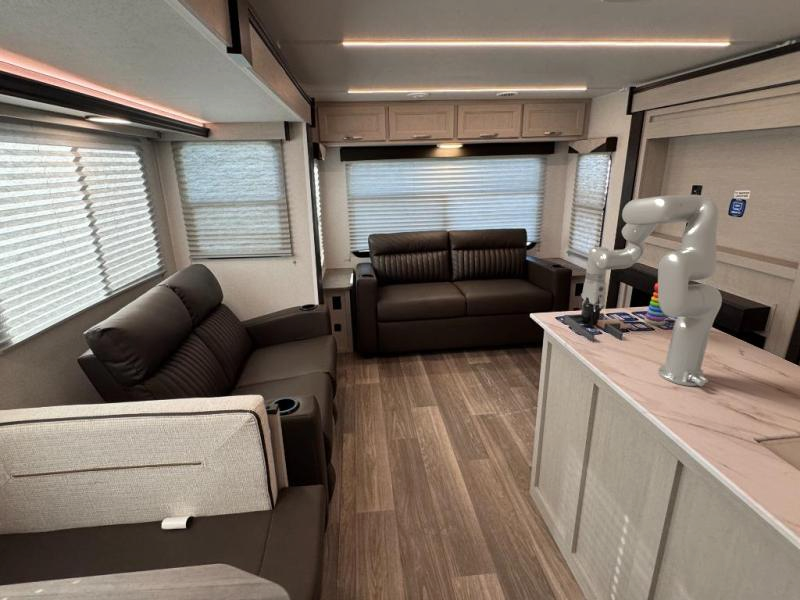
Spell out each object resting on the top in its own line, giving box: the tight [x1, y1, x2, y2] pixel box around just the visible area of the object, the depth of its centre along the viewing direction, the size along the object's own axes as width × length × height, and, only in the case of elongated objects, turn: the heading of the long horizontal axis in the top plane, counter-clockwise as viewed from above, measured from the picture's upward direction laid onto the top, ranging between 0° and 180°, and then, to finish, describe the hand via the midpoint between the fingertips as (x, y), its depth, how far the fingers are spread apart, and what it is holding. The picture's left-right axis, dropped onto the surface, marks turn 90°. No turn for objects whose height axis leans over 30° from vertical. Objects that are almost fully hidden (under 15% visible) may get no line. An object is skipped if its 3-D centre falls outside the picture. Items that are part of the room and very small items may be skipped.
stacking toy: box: [643, 282, 666, 326], centre depth 176 cm, size 8×8×19 cm
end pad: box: [596, 318, 632, 330], centre depth 177 cm, size 10×12×1 cm
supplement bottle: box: [580, 297, 598, 327], centre depth 174 cm, size 7×7×12 cm
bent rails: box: [562, 312, 624, 342], centre depth 172 cm, size 22×18×3 cm
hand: (590, 316), depth 175 cm, fingers closed on supplement bottle, 6 cm apart
